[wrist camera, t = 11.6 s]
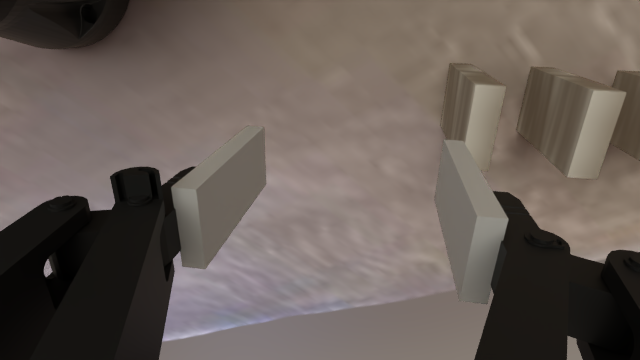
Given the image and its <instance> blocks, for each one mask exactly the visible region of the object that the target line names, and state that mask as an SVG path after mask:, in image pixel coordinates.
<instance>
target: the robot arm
mask: <svg viewBox="0 0 640 360" xmlns="http://www.w3.org/2000/svg"><path fill="white" fill-rule="evenodd" d="M128 2H129V0H0V37H3V38H6V39H10V40H13V41H17V42H20V43H24V44H27V45H31V46H35V47H39V48H46V49H66V48H75V47H83V46H87V45H90V44H93V43H95V42H97V41H99V40H101V39H103V38H104V37H105V36H107V35H108V34H109V33H110V32H111V31H112V30H113V29H114V28H115V27H116V26H117V24H118V23H119V21H120V20H121V18H122V16H123V15H124V12H125V10H126V8H127V5H128ZM110 179H111V184H112V188H113V193H114V198H115V204H114V206H113V208H112V210H99V211H90V208H89V204H88V200H87V199H86V198H84V197H81V196H62V197H61V196H60V197H56V198H54V199H52V200H49V201H46V202H44V203H43V204H41V205H39V206H37V207H36V208H34V209H33V210H31V211H30V212H28V213H27V214H25V215H24V216H23V217H21V218H20V219H18V220H17V221H15V222H14V223H12V224H11V225H9V226H8V227H6V228H5V229H3V230H2V231H0V360H159V355H160V349H161V344H162V338H163V333H164V327H165V322H166V316H167V310H168V305H169V299H170V294H171V288H172V283H173V277H174V272H175V271H174V264H173V258H174V257H175V256H176V255H177V254H178V253H179V251H180V253H181V260H182V266H183V267H192V268H200V269H206V268H207V266H208V265H209V263H210V262H211V261H212V259H213V258H214V256H215V255H216V254H217V252H218V251H219V249H220V248H221V247H222V245H223V244H224V242H225V241H226V240H227V238H228V237H229V235H230V234H231V233H232V231H233V230H234V228H235V227H236V226H237V224H238V223H239V221H240V220H241V219H242V217H243V216H244V214H245V213H246V212H247V210H248V209H249V207H250V206H251V205H252V203H253V202H254V200H255V199H256V198H257V196H258V195H259V193H260V192H261V191H262V189H263V188H264V186H265V185H266V165H265V137H264V127H257V126H247V127H245V128H244V129H243V130H242V131H240V132H239V133H238V134H237V135H235V136H234V137H233V138H232V139H230V140H229V141H228V142H227V143H225V144H224V145H223V146H222V147H220V148H219V149H218V150H217V151H215V152H214V153H213V154H212V155H210V156H209V157H208V158H207V159H206V160H204V161H203V162H202V163H201V164H199V165H198V166H197V167H190V168H188V169H185V170H182V171H180V172H179V173H178V174H176V175H175V176H174V177H173V178H171V179H170V180H169V181H167V183H165V184H163V185H162V186H161V181H160V174H159V170H157V169H155V168H151V167H134V168H128V169H124V170H120V171H118V172H116V173H114V174H113V175H111V176H110ZM434 200H435V204H436V208H437V212H438V216H439V220H440V224H441V228H442V232H443V236H444V240H445V245H446V249H447V253H448V257H449V261H450V265H451V269H452V273H453V277H454V281H455V286H456V290H457V294H458V298H459V301H465V302H473V303H481V304H487V303H488V299H489V295H490V291H491V287H492V290H493V293H494V296H493V300H492V303H491V306H490V310H489V313H488V317H487V320H486V323H485V326H484V329H483V333H482V337H481V339H480V343H479V346H478V349H477V353H476V356H475V359H474V360H567V336H570V337H573V338H576V339H577V345H578V348H579V350H580V353H581V356H582V359H583V360H640V252H634V251H628V250H616V251H611V252H610V253H609V254H608V256H607V258H606V261H605V264H602V263H599V262H595V261H591V260H587V259H584V258H580V257H577V256H574V255H571V254H570V247H569V245H568V243H567V242H566V241H565V240H563V239H562V238H561V237H559V236H557V235H555V234H553V233H550V232H547V231H544V230H541V229H540V228H539V227H538V225H537V224H536V223H535V221H534V220H533V218H532V217H531V216H530V215H529V213H528V211H527V210H526V209H525V207H524V205H523V204H522V203H521V201H520V200H519V199H518V198H516V197H514V196H513V195H511V194H510V193H508V192H497V191H492V190H491V188H490V186H489V184H488V183H487V181H486V179H485V178H484V176H483V174H482V172H481V171H480V169H479V167H478V166H477V164H476V162H475V160H474V159H473V157H472V155H471V153H470V152H469V150H468V148H467V147H466V145H465V143H464V141H459V140H445V139H444V142H443V148H442V155H441V161H440V167H439V174H438V180H437V186H436V192H435V199H434ZM47 259H49V262H50V265H51V268H52V273H51V274H50V275H49V276H48V277H45V275H44V266H45V263H46V261H47Z"/></svg>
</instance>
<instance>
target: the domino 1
mask: <svg viewBox="0 0 640 360" xmlns="http://www.w3.org/2000/svg"><path fill="white" fill-rule="evenodd" d="M505 90H506V86H505V85H503V84H502V83H500V82H499V81H497V80H495V79H494V78H492V77H491V76H489V75H487V74H486V73H484V72H483V71H481V70H480V69H478V68H476V67H475V66H473V65H472V64H456V63H450V66H449V72H448V79H447V85H446V92H445V99H444V105H443V112H442V118H441V128H442V130H443V132H444V134H445V136H446V139H447V140H459V141H464V143H465V145H466V147H467V148H468V150H469V152H470V153H471V155H472V157H473V159H474V160H475V162H476V164H477V166H478V167H479V169H480V171H488V169H489V165H490V160H491V155H492V151H493V146H494V141H495V137H496V132H497V128H498V123H499V118H500V114H501V109H502V104H503V100H504V95H505Z"/></svg>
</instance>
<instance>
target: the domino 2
mask: <svg viewBox="0 0 640 360" xmlns="http://www.w3.org/2000/svg"><path fill="white" fill-rule="evenodd" d="M626 93H627V92H624V91H622V90H619V89H616V88H613V87H610V86H607V85H604V84H601V83H598V82H595V81H592V80H589V79H586V78H583V77H580V76H577V75H574V74H571V73H568V72H565V71H562V70H559V69H556V68H548V67H531V69H530V73H529V78H528V82H527V86H526V90H525V95H524V99H523V103H522V107H521V112H520V116H519V120H518V124H517V129H516V130H517V131H518V132H519V133H520V134H521V135H522V136H523V137H524V138H525V139H526V140H527V141H528V142H530V143H531V144H532V145H533V146H534V147H535V148H536V149H537V150H538V151H539V152H540V153H541V154H543V155H544V156H545V157H546V158H547V159H548V160H549V161H550V162H551V163H552V164H553V165H554V166H555V167H557V168H558V169H559V170H560V171H561V172H562V173H563V174H564V175H565V176H566V177H570V178H582V179H595V180H597V178H598V175H599V172H600V169H601V167H602V164H603V161H604V158H605V155H606V152H607V149H608V146H609V143H610V140H611V137H612V134H613V131H614V128H615V125H616V122H617V119H618V116H619V114H620V111H621V108H622V105H623V102H624V99H625V96H626Z"/></svg>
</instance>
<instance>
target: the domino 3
mask: <svg viewBox="0 0 640 360" xmlns="http://www.w3.org/2000/svg"><path fill="white" fill-rule="evenodd" d="M613 88H616V89H619V90H622V91H624V92H627V93H626V96H625V99H624V102H623V105H622V108H621V111H620V114H619V116H618V119H617V122H616V125H615V128H614V131H613V134H612V137H611V140H610V143H611V144H612V145H614V146H616V147H617V148H619V149H621V150H622V151H624V152H626V153H628V154H629V155H631V156H633V157H634V158H636V159H638V160H640V71H617V74H616V77H615V80H614V83H613Z"/></svg>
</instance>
